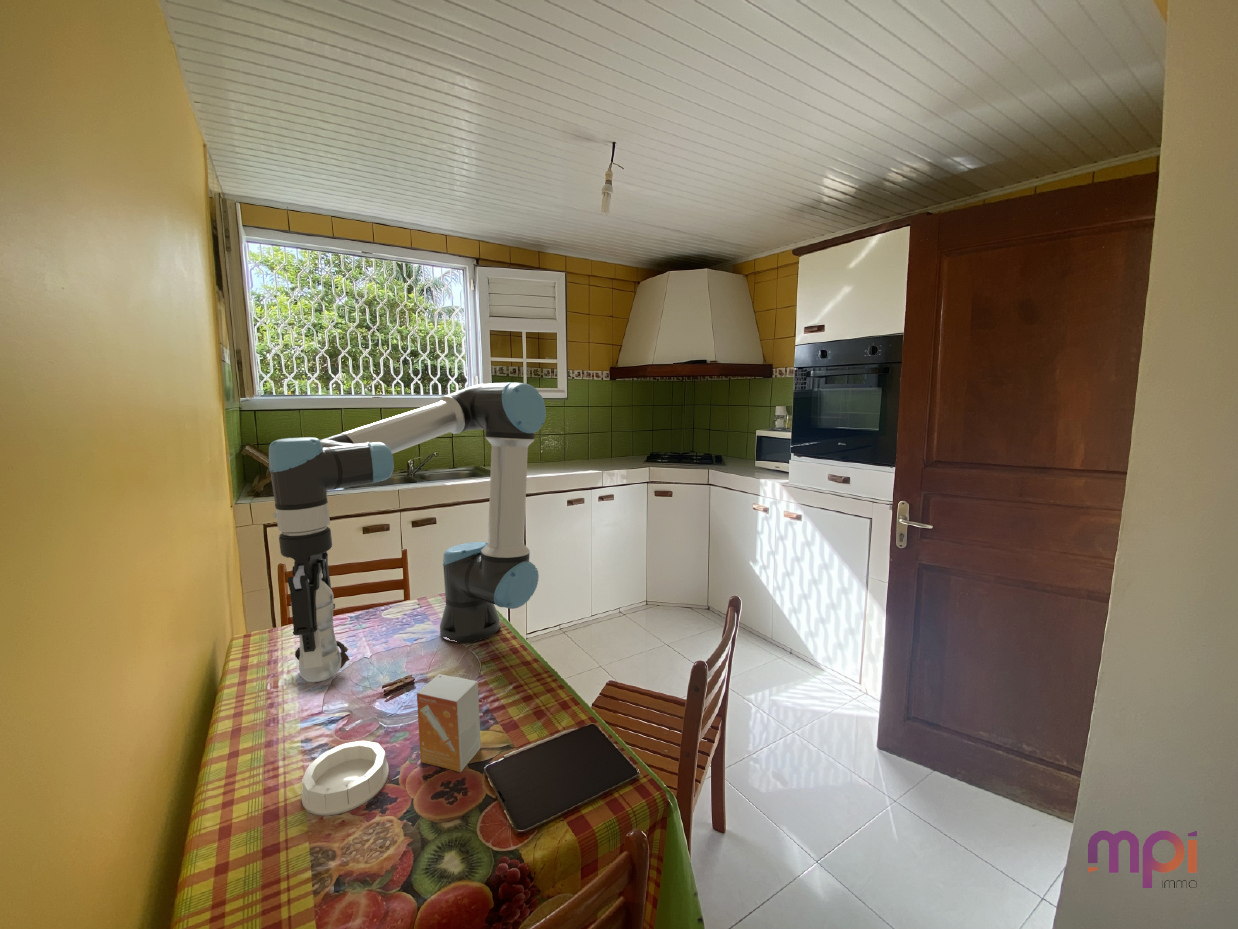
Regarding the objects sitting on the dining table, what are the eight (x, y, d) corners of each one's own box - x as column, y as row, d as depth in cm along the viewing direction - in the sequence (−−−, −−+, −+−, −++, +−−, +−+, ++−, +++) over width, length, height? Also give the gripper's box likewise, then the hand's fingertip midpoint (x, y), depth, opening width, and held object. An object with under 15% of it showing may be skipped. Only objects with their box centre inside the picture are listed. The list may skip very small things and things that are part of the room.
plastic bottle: (313, 691, 86) (299, 579, 83) (292, 680, 89) (279, 571, 86) (350, 673, 91) (338, 566, 88) (329, 662, 95) (317, 560, 92)
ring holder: (394, 750, 90) (392, 733, 89) (382, 805, 78) (380, 785, 77) (314, 764, 86) (313, 747, 86) (289, 824, 74) (287, 804, 74)
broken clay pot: (358, 659, 121) (356, 639, 116) (337, 697, 113) (334, 676, 108) (306, 649, 120) (303, 628, 115) (282, 686, 112) (277, 665, 107)
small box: (419, 763, 86) (415, 692, 85) (443, 739, 92) (439, 672, 91) (460, 774, 84) (456, 701, 82) (482, 748, 90) (478, 680, 88)
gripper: (298, 517, 94) (312, 633, 98) (256, 549, 76) (275, 691, 80) (343, 513, 96) (355, 628, 100) (312, 544, 78) (328, 682, 82)
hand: (319, 655), depth 90 cm, fingers closed on plastic bottle, 6 cm apart
